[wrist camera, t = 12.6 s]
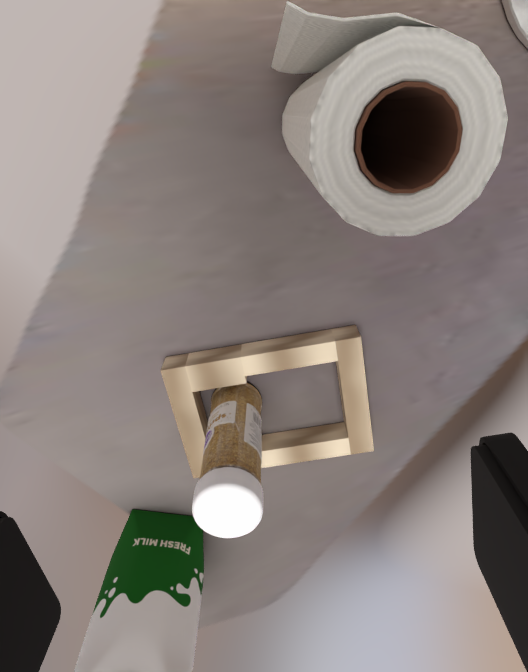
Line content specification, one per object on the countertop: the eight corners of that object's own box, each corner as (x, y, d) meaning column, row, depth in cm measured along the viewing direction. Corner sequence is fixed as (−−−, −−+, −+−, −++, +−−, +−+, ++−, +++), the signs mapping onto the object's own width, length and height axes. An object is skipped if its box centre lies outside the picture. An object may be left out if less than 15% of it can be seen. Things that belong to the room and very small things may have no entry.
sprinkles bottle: (212, 376, 42) (191, 484, 30) (265, 380, 43) (266, 488, 30) (210, 421, 44) (190, 539, 32) (260, 424, 44) (260, 543, 32)
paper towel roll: (372, 161, 35) (511, 220, 16) (289, 177, 36) (323, 255, 16) (361, 46, 32) (514, -53, 13) (270, 66, 33) (286, -1, 13)
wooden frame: (355, 324, 41) (360, 336, 38) (368, 434, 45) (373, 450, 43) (165, 357, 42) (160, 370, 39) (196, 461, 46) (193, 478, 44)
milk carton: (213, 510, 49) (185, 749, 30) (203, 575, 52) (172, 823, 34) (123, 500, 48) (39, 737, 30) (119, 566, 52) (42, 814, 33)
